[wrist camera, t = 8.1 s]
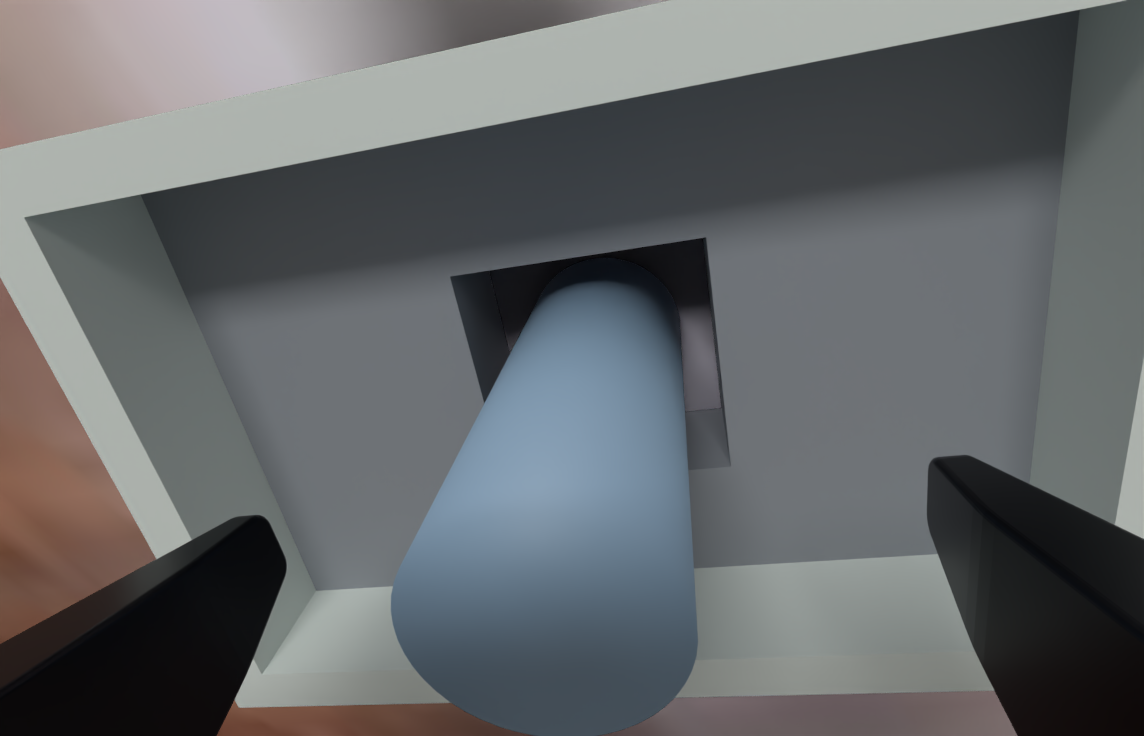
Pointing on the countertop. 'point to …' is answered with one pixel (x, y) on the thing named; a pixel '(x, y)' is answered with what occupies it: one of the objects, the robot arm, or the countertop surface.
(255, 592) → the robot arm
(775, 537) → the box
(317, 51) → the countertop surface
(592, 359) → the peg
